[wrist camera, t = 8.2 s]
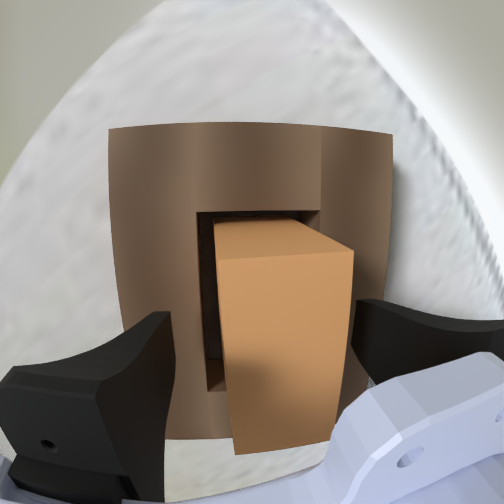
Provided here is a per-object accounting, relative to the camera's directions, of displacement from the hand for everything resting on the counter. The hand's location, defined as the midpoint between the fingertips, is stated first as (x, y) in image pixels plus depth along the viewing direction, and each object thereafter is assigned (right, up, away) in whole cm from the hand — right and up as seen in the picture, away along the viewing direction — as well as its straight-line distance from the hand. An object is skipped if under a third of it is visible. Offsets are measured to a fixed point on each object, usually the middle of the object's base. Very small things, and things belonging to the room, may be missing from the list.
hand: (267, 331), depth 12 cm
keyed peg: (-1, +1, +5) cm, 5 cm away
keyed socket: (-1, +1, +5) cm, 5 cm away
